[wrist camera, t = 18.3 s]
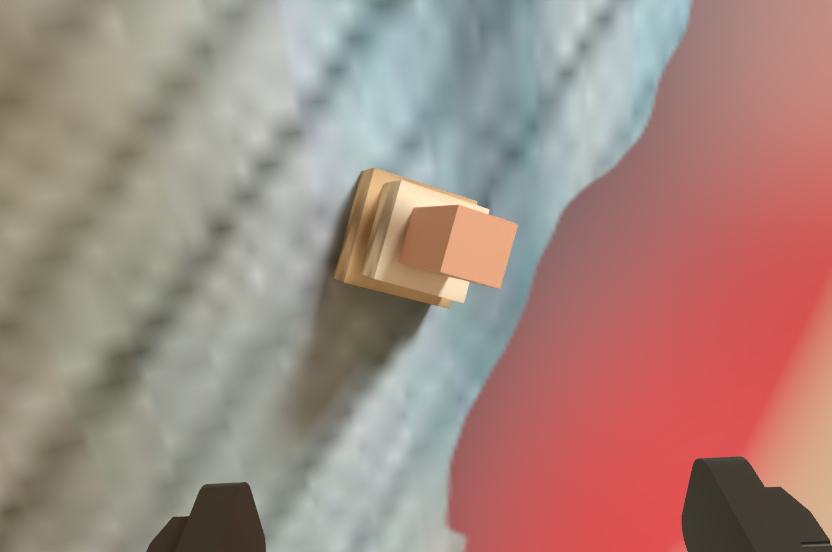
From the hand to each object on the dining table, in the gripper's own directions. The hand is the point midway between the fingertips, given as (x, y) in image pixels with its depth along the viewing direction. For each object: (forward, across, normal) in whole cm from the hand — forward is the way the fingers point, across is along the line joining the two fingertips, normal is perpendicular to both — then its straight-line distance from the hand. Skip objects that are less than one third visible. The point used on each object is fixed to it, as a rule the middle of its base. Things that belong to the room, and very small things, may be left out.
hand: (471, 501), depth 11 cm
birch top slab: (+39, -2, -14) cm, 42 cm away
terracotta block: (+35, -1, -12) cm, 37 cm away
